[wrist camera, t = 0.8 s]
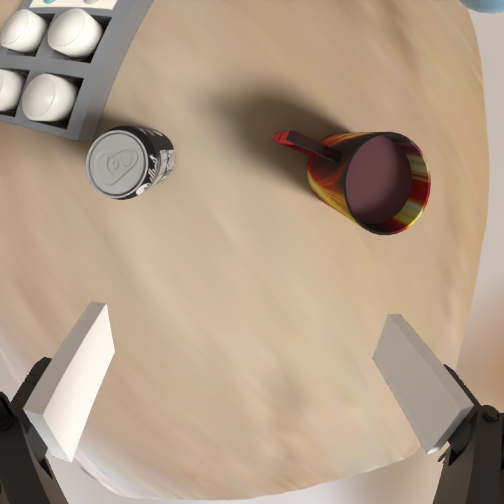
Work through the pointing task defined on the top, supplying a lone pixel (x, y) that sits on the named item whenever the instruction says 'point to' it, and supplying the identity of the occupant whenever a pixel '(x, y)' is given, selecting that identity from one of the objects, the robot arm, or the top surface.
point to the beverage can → (128, 161)
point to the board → (58, 64)
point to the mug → (367, 177)
